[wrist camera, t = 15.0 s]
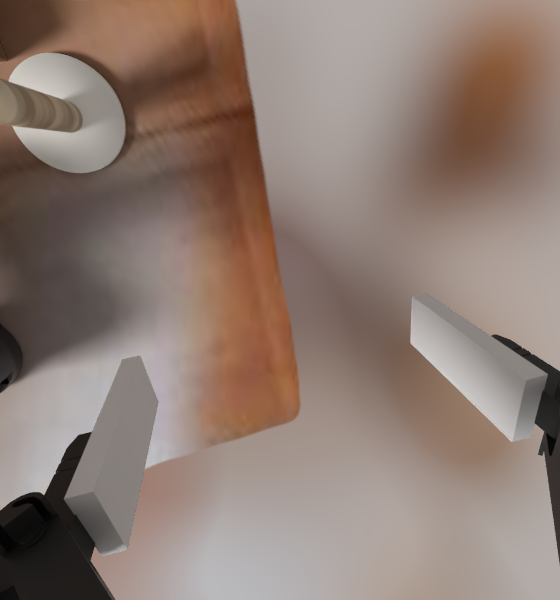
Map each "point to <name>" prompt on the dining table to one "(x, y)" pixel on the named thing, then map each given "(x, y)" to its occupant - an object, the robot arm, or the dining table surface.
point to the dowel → (36, 109)
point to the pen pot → (2, 54)
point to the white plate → (92, 104)
